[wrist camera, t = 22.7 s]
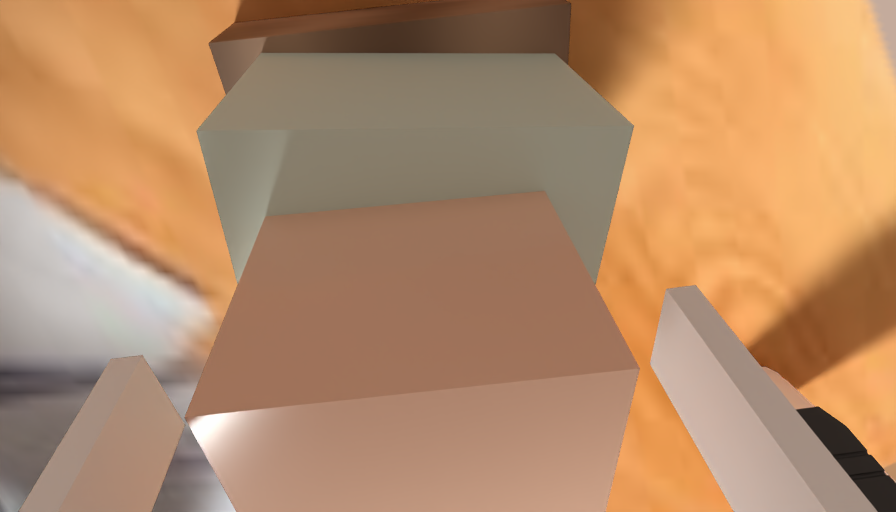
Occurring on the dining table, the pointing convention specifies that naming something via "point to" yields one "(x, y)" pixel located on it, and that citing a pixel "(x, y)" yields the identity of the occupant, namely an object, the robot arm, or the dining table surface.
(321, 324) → the beige cube
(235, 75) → the walnut base
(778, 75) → the dining table surface
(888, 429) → the dining table surface
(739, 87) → the dining table surface
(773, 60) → the dining table surface
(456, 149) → the sage brick
